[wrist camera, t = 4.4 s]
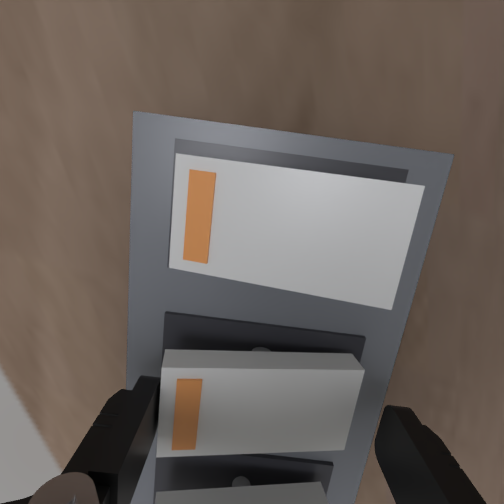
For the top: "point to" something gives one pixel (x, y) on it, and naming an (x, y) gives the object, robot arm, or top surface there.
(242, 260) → the rocker
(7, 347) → the top surface
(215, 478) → the rocker switch panel
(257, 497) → the rocker
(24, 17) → the top surface
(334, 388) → the rocker
